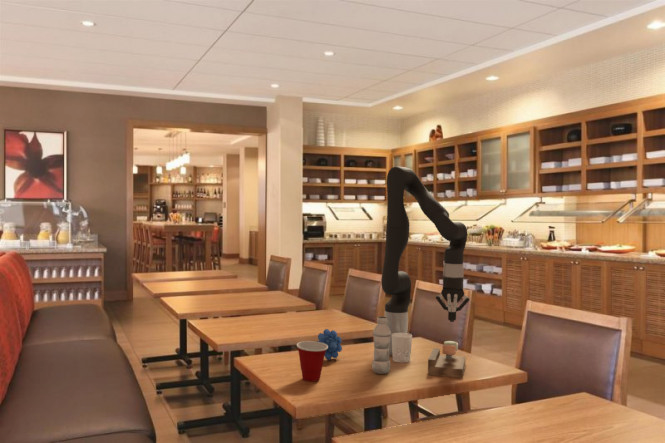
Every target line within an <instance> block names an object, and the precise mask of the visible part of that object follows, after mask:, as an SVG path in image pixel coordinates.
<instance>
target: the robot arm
mask: <svg viewBox="0 0 665 443" xmlns="http://www.w3.org/2000/svg"><path fill="white" fill-rule="evenodd" d="M405 191H406V192H408V193H409V194H410V195H411V196H413V198H414V199H415V201H416V202H417V203H418V205H419V207H420V210H421V211H422V212H423V214H424V215H425V216H426V218H428V219H429V220H430V221H431V223H432V224H433V225H434V227H435V229H437V231H438V233H439V234H440V236H441V237H442V238H443V239H444V240H446V241H448V242H449V244H448V246H447V247H446V248H445V250H444V255H443V256H444V257H443V262H444V263H443V268H442V290H441V292H440V293H439V294H437V295H436V296H435V299H436V301H437V302H438V304H439V305H440V306H441V308H442V309H443V310H444V311H445V310H446V311H447V312H448V314H447V319H448V321H449V322H450V323H451V322H452V323H454V322H455V321H456V320H457V312H458V311H461V310H462V309H464V307H465V306H466V305H467V303H469V301H470V297H469V296H467V295H466V294H465V290H464V277H465V276H464V275H465V274H464V251H465V248H466V244H467V240H468V228H467V226H466V225H465V224H464V223H462V222H461V221H460V222H459V221H452V220H451V218H450V213H449V211H448V210H447V209H446V208H445V207H444V206H443V205H442V204H441V203H440V202H439V201H438V200H437V199H436V198H435V197H434V196H433V195H432V194H431V193H430V192H429V190H428V189H427V188H426V187H425V185H424V183H423V182H422V181H421V179H420V178H419V176H418V175H417V174H416V172H415V171H414V170H413V169H412V168H409V167H405V166H393V167H391V168H390V169H389V170H388V172H387V176H386V193H387V194H386V196H387V197H386V198H387V208H386V209H387V210H386V224H385V225H386V228H385V230H386V231H385V248H384V259H383V267H382V272H381V289H382V290H383V293H384V294H386V295H387V296H391V298H390V300H388V301H387V302H386V303H385V305H384V317H387V325H388V327H389V329H390V331H391V335H390V342H389V356H392V357H393V353H392V334H393V333H408V319H409V318H408V317H409V314H408V312H409V307H410V303H411V295H412V294H411V292H412V281H411V277H410V275H409V274H408V273H407V272H406V271H402V270H400V269H399V267H400V261H401V258H402V255H403V253H404V252H405V249H406V248H407V245H408V243H409V238H410V220H409V216H408V213H407V211H406V208H405V204H404V203H405V202H404V198H405V197H404V193H405ZM443 299H444V300H445V301H446V302H447V305H446V303H445V302H444V301H443ZM461 300H462V302H461V303H460V304H459V306H458V303H459V302H460V301H461ZM452 303H453V304H452Z"/></svg>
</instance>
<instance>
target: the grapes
mask: <svg viewBox="0 0 665 443" xmlns="http://www.w3.org/2000/svg"><path fill="white" fill-rule="evenodd" d="M317 338H318V340H317V341H316V342H320V343H324V344H326V345H327V346H328V349H327V350H326V353H325V356H324V359H326V360H328V361H330V360H331V359H332V358H333V359H337V358H339V353H340V352H342V350H343V346H342V345H341V343H342V338H341V336H338V333H337V331H336V330H331V331H330V330H329V329H328V328H325V329H324V330H323V332H322V333H321V332H320V333H318V335H317Z"/></svg>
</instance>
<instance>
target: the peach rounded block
mask: <svg viewBox="0 0 665 443" xmlns="http://www.w3.org/2000/svg"><path fill="white" fill-rule="evenodd" d="M456 353H457V351H456V346H454V345H444V344H443V345H442V355H446V359H452V356H455V355H456Z"/></svg>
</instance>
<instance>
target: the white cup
mask: <svg viewBox="0 0 665 443" xmlns="http://www.w3.org/2000/svg"><path fill="white" fill-rule="evenodd" d="M412 342H413V335H412V333H408V332H407V333H393V334H392V353H393V356H392V361H393V362H395V363H400V364H401V363H402V364H403V363H410V362H411V354H412Z"/></svg>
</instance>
